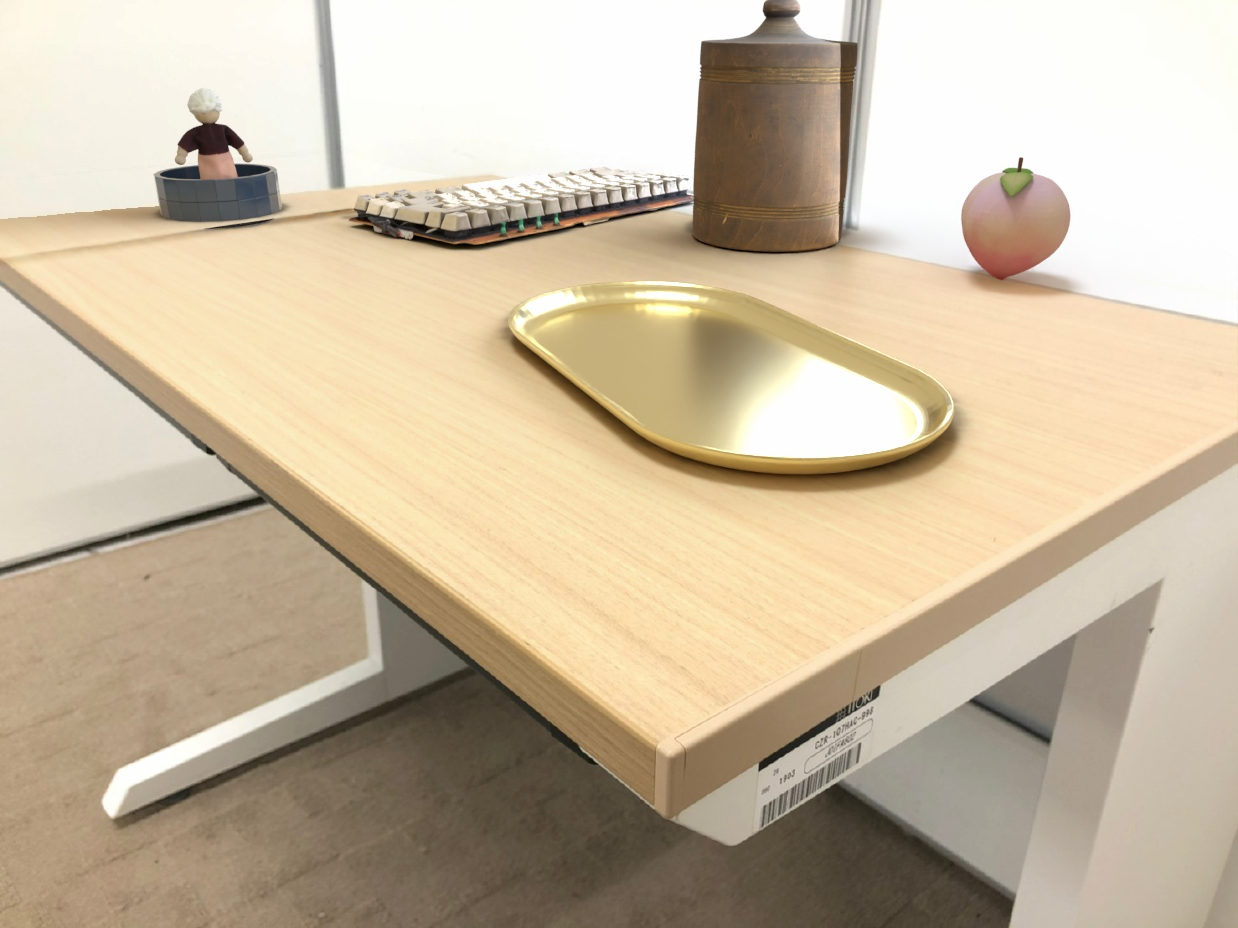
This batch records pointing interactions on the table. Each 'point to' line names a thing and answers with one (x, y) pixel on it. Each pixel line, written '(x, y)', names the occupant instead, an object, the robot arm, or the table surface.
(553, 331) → the serving platter
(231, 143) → the grandmother figurine
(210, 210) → the bowl
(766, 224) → the wooden container
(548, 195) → the mechanical keyboard
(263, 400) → the table surface
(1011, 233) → the decorative fruit
